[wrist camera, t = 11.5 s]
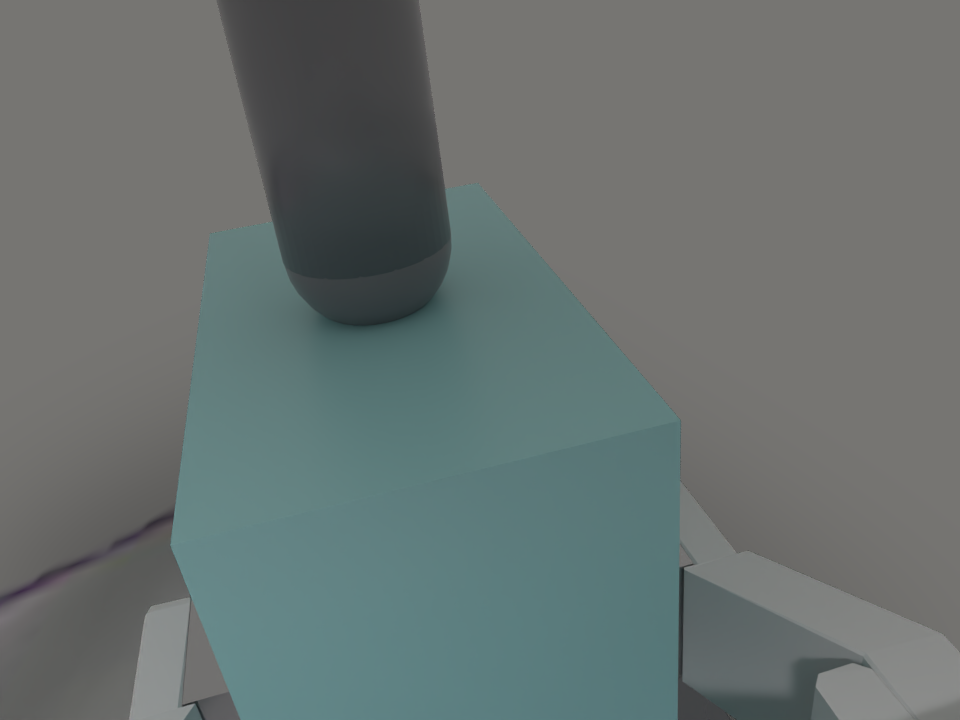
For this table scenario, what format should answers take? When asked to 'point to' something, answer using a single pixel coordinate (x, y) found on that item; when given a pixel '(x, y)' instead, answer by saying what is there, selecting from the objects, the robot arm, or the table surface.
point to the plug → (410, 422)
